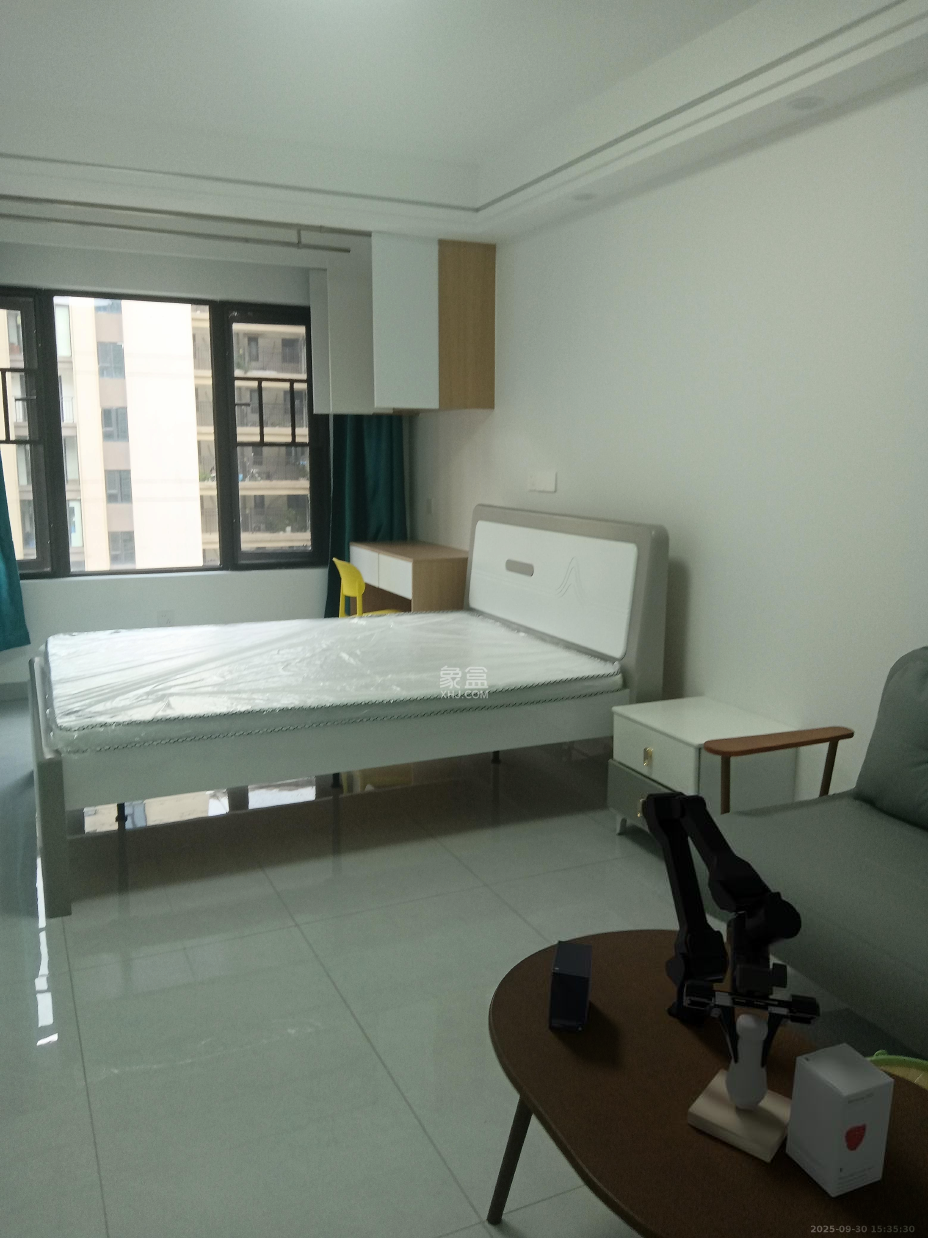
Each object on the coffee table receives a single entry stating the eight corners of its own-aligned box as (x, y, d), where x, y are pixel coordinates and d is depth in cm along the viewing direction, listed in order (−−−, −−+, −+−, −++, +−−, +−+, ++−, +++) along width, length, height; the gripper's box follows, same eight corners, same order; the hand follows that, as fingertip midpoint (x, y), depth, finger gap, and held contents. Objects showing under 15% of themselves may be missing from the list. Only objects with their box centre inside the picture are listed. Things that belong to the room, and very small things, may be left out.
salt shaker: (772, 1101, 136) (781, 1020, 134) (754, 1120, 132) (763, 1037, 130) (735, 1081, 140) (743, 1002, 138) (716, 1100, 136) (724, 1019, 133)
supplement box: (832, 1200, 122) (844, 1097, 119) (783, 1153, 130) (793, 1055, 127) (884, 1180, 126) (896, 1080, 123) (833, 1135, 134) (844, 1040, 131)
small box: (586, 1035, 155) (589, 976, 153) (546, 1029, 156) (549, 971, 154) (590, 999, 165) (594, 944, 163) (553, 993, 166) (556, 939, 165)
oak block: (720, 1083, 145) (721, 1069, 144) (798, 1119, 138) (799, 1103, 137) (686, 1126, 135) (688, 1110, 135) (768, 1166, 128) (770, 1150, 128)
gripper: (690, 929, 137) (685, 1043, 129) (825, 947, 133) (829, 1066, 125) (685, 950, 146) (680, 1058, 138) (811, 968, 143) (814, 1080, 134)
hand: (749, 1065), depth 134 cm, fingers closed on salt shaker, 3 cm apart
